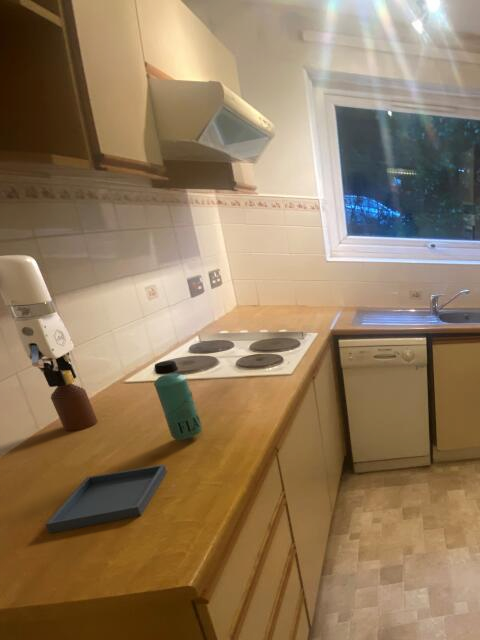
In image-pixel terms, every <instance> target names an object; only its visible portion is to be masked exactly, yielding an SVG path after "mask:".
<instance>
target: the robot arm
mask: <svg viewBox="0 0 480 640" xmlns="http://www.w3.org/2000/svg"><path fill="white" fill-rule="evenodd" d="M0 296H1V298H2V300H3V302H4V306H5V307H6V309H7V311H8V313H9V316H10V318H11V320H12V321H14V324H15V329H16V331H17V335H18V337H19V340H20V343H21V345H22V348H23V349H24V352H25V354H26V356H27V358H28V359H29V360H30V361H31V365H32V367H35V368H37V369H39V371H40V372H41V373H43V376H44V378H45V380H46V383H47V385H48V387H50V388H57V386H65V385H66V384H67V383H66V380H65V378H64V376H63V373H62V371H61V370H70V371H71V373H72V375H73V378H74V380H75V379H76V378H77V374H76V372H75V369H74V367H73V365H72V360H71V357H70V352H71V351H72V350H74V348H75V345H74V342H73V340H72V338H71V336H70V334H69V331H68V329H67V327H66V326H65V324H64V322H63V320H62V318H61V317H60V316H59V314H58V312H57V310H56V306H55V304H54V301H53V299H52V297H51V295H50V292H49V289H48V287H47V285H46V282H45V279H44V278H43V275H42V272H41V269H40V267H39V265H38V263H37V261H36V260H35V259H34V257H32V256H30V255H25V254H24V255H23V254H9V255H7V254H6V255H0ZM44 357H46V358H44Z"/></svg>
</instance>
